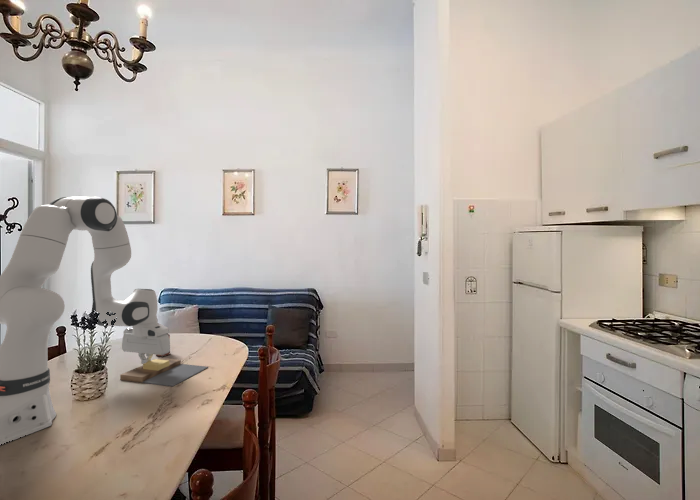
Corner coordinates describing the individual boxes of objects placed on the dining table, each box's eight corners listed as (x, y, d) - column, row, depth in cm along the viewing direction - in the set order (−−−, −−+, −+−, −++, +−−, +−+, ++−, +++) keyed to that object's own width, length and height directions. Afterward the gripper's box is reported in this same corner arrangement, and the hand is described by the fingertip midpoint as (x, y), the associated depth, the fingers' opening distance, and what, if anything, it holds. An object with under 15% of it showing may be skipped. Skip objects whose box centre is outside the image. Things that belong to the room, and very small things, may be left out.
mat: (172, 386, 134) (172, 385, 134) (142, 382, 137) (142, 381, 137) (208, 367, 153) (208, 366, 153) (181, 364, 156) (181, 363, 156)
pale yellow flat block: (158, 370, 144) (158, 365, 144) (143, 369, 146) (143, 363, 145) (169, 365, 150) (169, 360, 149) (154, 363, 151) (154, 359, 151)
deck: (142, 382, 137) (142, 377, 137) (120, 379, 140) (120, 374, 140) (180, 364, 156) (180, 359, 156) (160, 362, 159) (160, 357, 159)
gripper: (117, 329, 148) (117, 364, 148) (160, 332, 143) (161, 368, 143) (130, 325, 154) (131, 359, 154) (172, 328, 149) (173, 363, 149)
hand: (145, 363), depth 149 cm, fingers closed
